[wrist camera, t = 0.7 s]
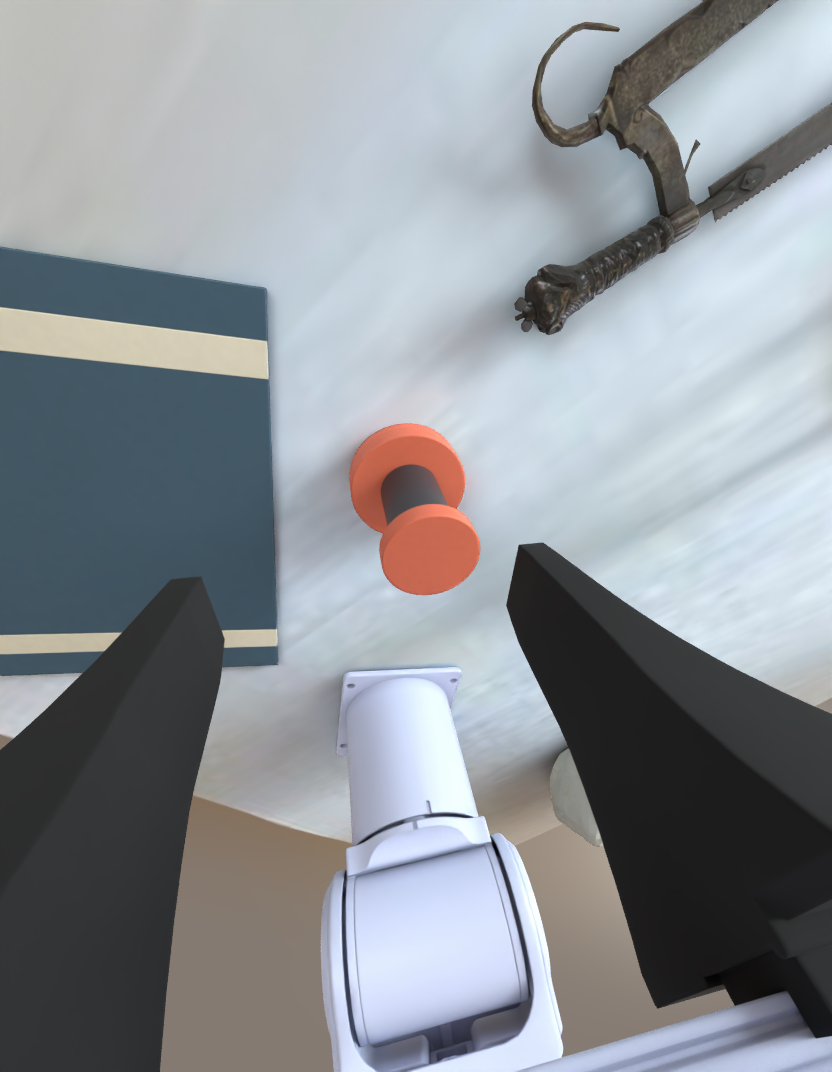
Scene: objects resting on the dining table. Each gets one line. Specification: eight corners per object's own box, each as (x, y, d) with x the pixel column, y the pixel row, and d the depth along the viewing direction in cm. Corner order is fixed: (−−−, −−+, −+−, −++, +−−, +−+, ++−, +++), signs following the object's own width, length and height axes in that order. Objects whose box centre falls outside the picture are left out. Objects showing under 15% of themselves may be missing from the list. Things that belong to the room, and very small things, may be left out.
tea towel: (278, 661, 26) (277, 665, 26) (3, 671, 23) (0, 676, 23) (266, 287, 15) (265, 288, 15) (-265, 205, 12) (-279, 204, 12)
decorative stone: (623, 792, 44) (617, 896, 36) (545, 734, 45) (523, 822, 37) (704, 741, 38) (719, 853, 30) (611, 677, 39) (601, 766, 31)
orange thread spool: (445, 523, 22) (482, 610, 17) (345, 519, 21) (352, 611, 16) (468, 428, 20) (519, 498, 14) (353, 417, 18) (365, 490, 13)
